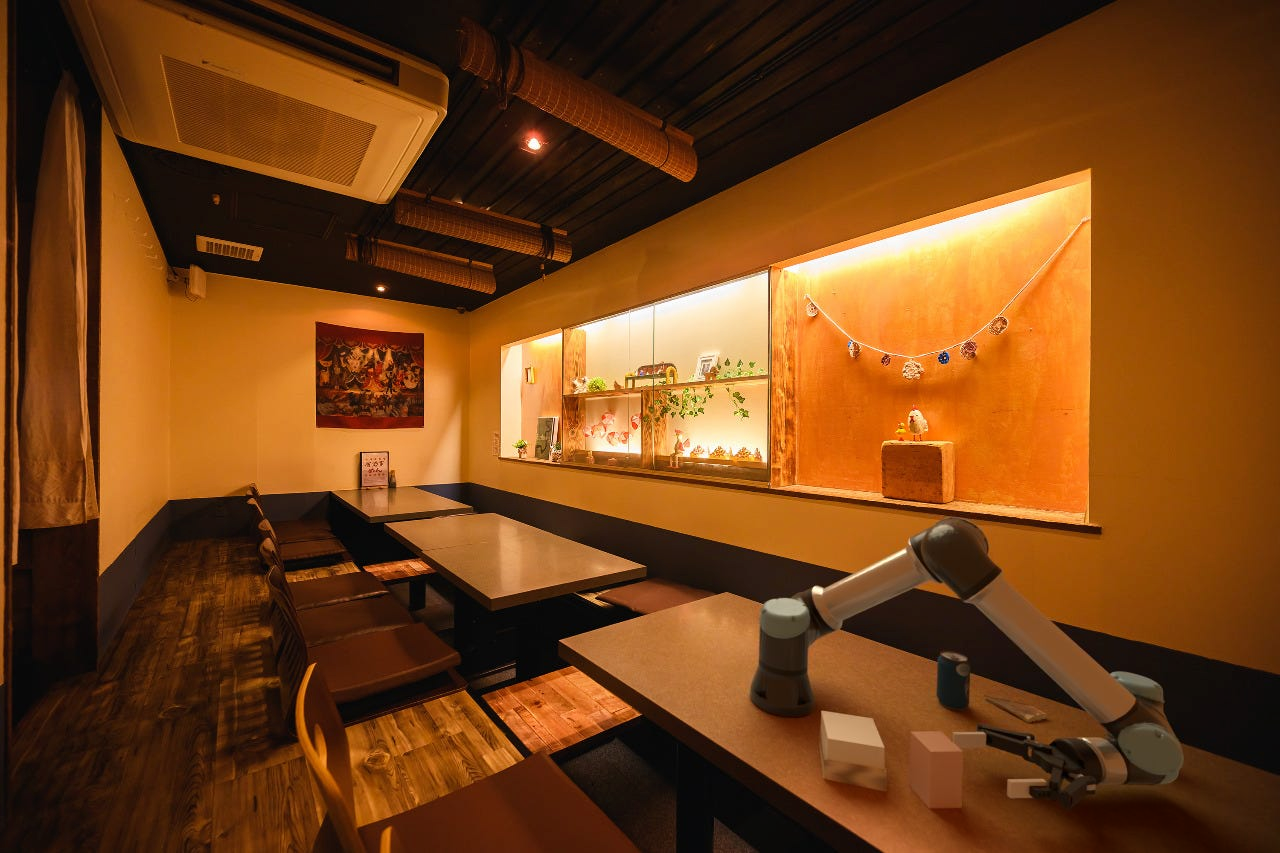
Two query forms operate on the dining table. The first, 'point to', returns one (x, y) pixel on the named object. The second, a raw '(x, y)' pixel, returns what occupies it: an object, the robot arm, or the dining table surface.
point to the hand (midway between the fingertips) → (979, 762)
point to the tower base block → (852, 772)
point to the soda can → (953, 680)
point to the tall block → (936, 769)
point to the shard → (1018, 709)
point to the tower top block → (852, 739)
